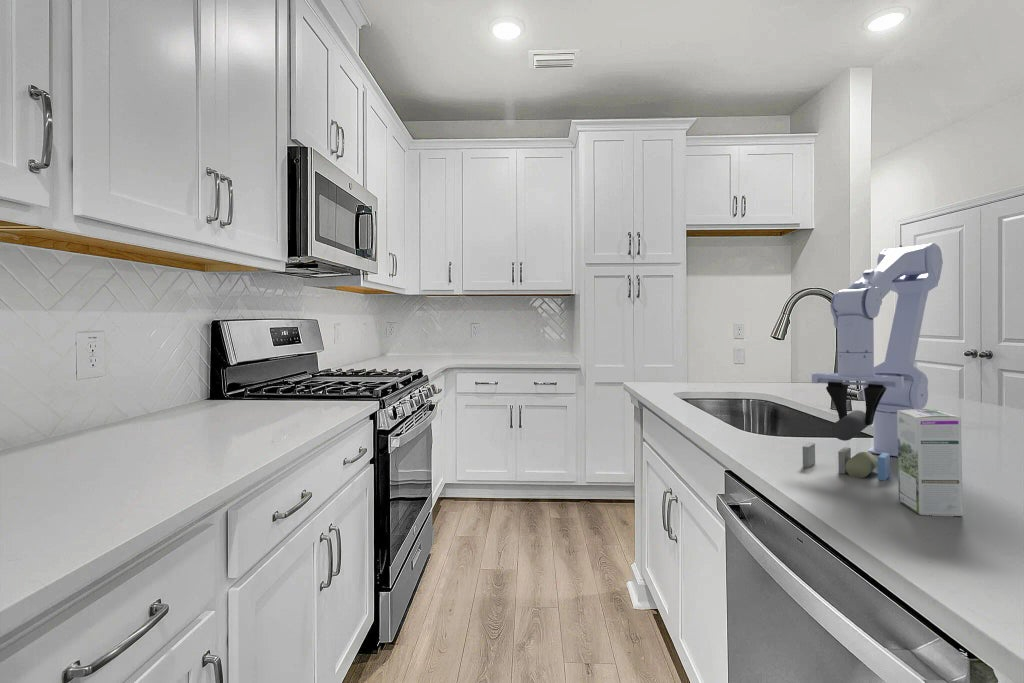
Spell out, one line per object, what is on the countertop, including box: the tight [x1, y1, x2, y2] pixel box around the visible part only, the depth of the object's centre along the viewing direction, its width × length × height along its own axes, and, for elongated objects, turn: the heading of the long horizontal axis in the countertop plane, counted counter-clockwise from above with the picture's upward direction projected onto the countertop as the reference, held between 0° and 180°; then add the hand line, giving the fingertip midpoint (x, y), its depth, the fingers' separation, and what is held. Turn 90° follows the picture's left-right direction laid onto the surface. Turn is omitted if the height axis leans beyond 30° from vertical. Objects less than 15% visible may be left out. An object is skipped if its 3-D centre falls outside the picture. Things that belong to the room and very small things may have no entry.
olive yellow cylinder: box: [845, 451, 878, 479], centre depth 93 cm, size 6×4×4 cm, turn 133°
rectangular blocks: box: [802, 442, 891, 481], centre depth 92 cm, size 4×19×4 cm, turn 43°
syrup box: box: [897, 408, 964, 517], centre depth 75 cm, size 6×6×14 cm
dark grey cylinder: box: [831, 409, 869, 442], centre depth 95 cm, size 10×4×4 cm, turn 132°
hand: (856, 423), depth 97 cm, fingers closed on dark grey cylinder, 4 cm apart
